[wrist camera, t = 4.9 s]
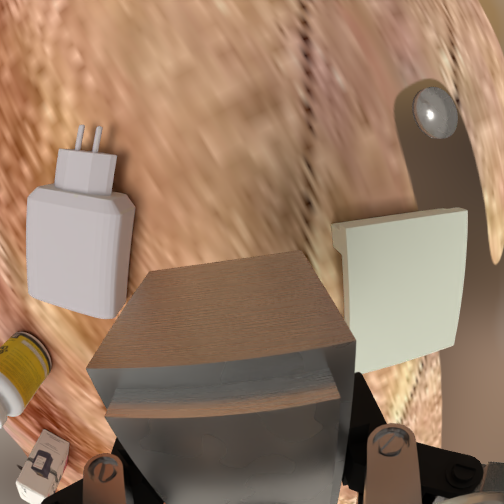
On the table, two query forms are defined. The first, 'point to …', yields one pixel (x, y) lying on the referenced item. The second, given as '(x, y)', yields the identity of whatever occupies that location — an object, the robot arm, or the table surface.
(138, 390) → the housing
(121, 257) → the charger
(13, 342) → the pill bottle
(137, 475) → the robot arm
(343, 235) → the stand
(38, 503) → the white product box
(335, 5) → the table surface
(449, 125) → the grey disc
